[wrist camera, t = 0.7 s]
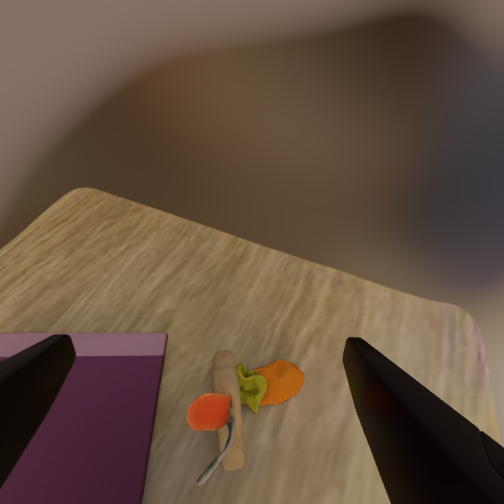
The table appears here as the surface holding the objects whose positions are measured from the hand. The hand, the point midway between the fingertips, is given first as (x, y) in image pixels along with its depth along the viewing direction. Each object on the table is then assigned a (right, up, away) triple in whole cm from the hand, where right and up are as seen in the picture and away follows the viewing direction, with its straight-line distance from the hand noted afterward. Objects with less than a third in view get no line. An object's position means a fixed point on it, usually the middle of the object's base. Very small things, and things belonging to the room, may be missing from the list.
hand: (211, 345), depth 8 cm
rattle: (+2, -10, +13) cm, 16 cm away
